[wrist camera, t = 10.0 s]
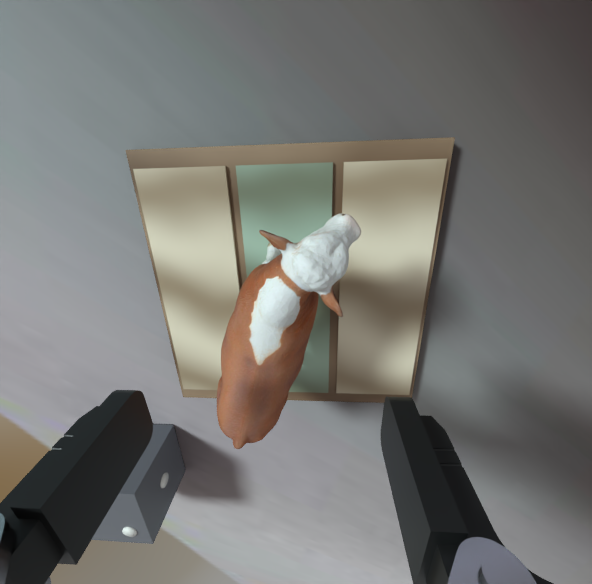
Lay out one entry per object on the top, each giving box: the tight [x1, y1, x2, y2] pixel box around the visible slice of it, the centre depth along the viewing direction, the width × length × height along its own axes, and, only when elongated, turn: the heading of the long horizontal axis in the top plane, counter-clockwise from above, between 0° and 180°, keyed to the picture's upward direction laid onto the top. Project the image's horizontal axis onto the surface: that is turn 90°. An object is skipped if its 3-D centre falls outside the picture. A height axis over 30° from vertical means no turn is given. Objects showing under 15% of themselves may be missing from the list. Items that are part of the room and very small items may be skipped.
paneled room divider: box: [126, 137, 455, 403], centre depth 19 cm, size 18×18×1 cm
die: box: [91, 424, 185, 544], centre depth 24 cm, size 6×6×6 cm
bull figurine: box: [217, 213, 361, 449], centre depth 15 cm, size 4×13×8 cm, turn 158°
